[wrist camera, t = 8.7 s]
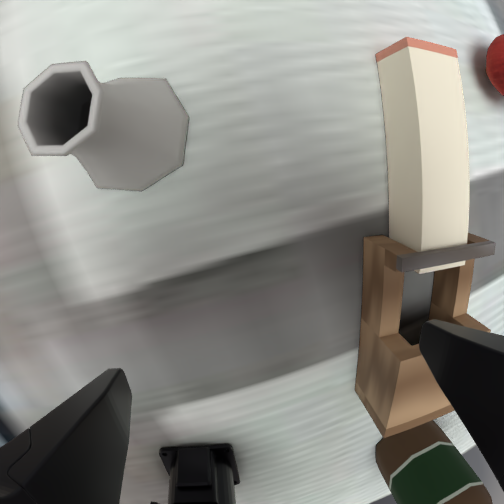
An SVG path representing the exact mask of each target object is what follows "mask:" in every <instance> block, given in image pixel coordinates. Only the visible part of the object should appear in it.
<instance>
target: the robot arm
mask: <svg viewBox="0 0 504 504" xmlns="http://www.w3.org/2000/svg"><path fill="white" fill-rule="evenodd" d="M419 349H420V352H421V354H422V356H423V358H424V359H425V361H426V363H427V365H428V367H429V369H430V371H431V372H432V374H433V376H434V378H435V380H436V382H437V384H438V385H439V387H440V389H441V390H442V392H443V393H444V395H445V396H446V398H447V399H448V401H449V402H450V404H451V405H452V407H453V408H454V410H455V411H456V413H457V414H458V416H459V417H460V419H461V421H462V422H463V424H464V425H465V427H466V428H467V430H468V432H469V433H470V435H471V436H472V438H473V440H474V441H475V443H476V445H477V446H478V448H479V450H480V451H481V453H482V454H483V456H484V458H485V459H486V461H487V463H488V464H489V466H490V468H491V470H492V471H493V473H494V475H495V477H496V479H497V480H498V482H499V484H500V486H501V487H502V489H503V491H504V336H502V335H498V334H494V333H489V332H485V331H481V330H477V329H473V328H469V327H465V326H460V325H456V324H452V323H448V322H444V321H440V320H436V319H433V320H430V321H426V322H424V323H423V325H422V330H421V336H420V342H419ZM131 404H132V393H131V390H130V387H129V384H128V381H127V379H126V376H125V373H124V371H123V370H122V369H121V368H114V369H108V370H106V371H105V372H104V373H102V374H101V375H99V376H98V377H97V378H95V379H94V380H93V381H91V382H90V383H89V384H87V385H86V386H85V387H83V388H82V389H81V390H79V391H78V392H77V393H75V394H74V395H73V396H71V397H70V398H69V399H67V400H66V401H64V402H63V403H62V404H60V405H59V406H58V407H56V408H55V409H54V410H52V411H51V412H50V413H48V414H47V415H46V416H44V417H43V418H41V419H40V420H39V421H37V422H36V423H35V424H33V425H32V426H31V427H30V429H29V428H28V429H26V430H25V431H24V432H22V433H21V434H20V435H18V436H17V437H15V438H14V439H13V440H11V441H10V442H8V443H7V444H5V445H4V446H2V447H0V504H119V501H120V494H121V487H122V480H123V474H124V468H125V462H126V456H127V450H128V444H129V434H130V417H131ZM159 455H160V457H161V459H162V461H163V463H164V466H165V468H166V470H167V472H168V474H169V476H170V480H169V495H168V504H236V499H235V490H234V485H237V484H239V483H240V479H239V475H238V470H237V466H236V462H235V457H234V453H233V448H232V446H231V445H229V444H223V445H212V446H198V447H180V448H161V449H160V451H159ZM151 504H158V503H157V502H151Z"/></svg>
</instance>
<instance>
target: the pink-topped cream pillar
mask: <svg viewBox="0 0 504 504" xmlns="http://www.w3.org/2000/svg"><path fill="white" fill-rule="evenodd" d="M457 58H458V56H457V51H456V49H453V48H449V47H446V46H442V45H438V44H435V43H431V42H427V41H422V40H418V39H414V38H409V37H405V38H403V39H402V40H400V41H398V42H396V43H394V44H393V45H391V46H389V47H387V48H385V49H384V50H382V51H380V52H378V53H377V54H376V61H377V65H378V72H379V79H380V86H381V94H382V103H383V112H384V122H385V133H386V147H387V163H388V188H389V238H390V239H392V240H395V241H397V242H399V243H401V244H403V245H405V246H407V247H409V248H411V249H413V250H415V251H417V252H422V251H428V250H435V249H441V248H447V247H454V246H460V245H466V244H467V237H468V221H469V150H468V134H467V123H466V113H465V104H464V96H463V89H462V82H461V76H460V70H459V65H458V59H457ZM462 265H465V261H460V262H455V263H450V264H445V265H440V266H434V267H429V268H424V269H418V270H414V271H415V272H417V273H419V274H422V273H427V272H432V271H438V270H443V269H448V268H453V267H457V266H462Z"/></svg>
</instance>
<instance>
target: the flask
mask: <svg viewBox="0 0 504 504" xmlns="http://www.w3.org/2000/svg"><path fill="white" fill-rule="evenodd" d="M188 121H189V116H188V115H187V113H186V111H185V110H184V108H183V106H182V105H181V103H180V101H179V100H178V98H177V96H176V95H175V93H174V91H173V90H172V88H171V86H170V85H169V83H168V81H167V80H166V79H159V78H117V79H114V80H112V81H109V82H106V83H100V82H99V81H98V80H97V78H96V76H95V74H94V73H93V71H92V69H91V67H90V65H89V63H88V62H86V61H79V62H67V63H58V64H52V65H50V66H49V67H48V68H47V69H45V70H44V71H43V72H42V73H41V74H39V75H38V76H37V77H36V78H35V79H34V80H33V81H31V82H30V83H29V84H28V85H27V86H26V87H25V88H24V89H23V94H22V100H21V105H20V112H19V118H18V128H19V130H20V132H21V134H22V136H23V139H24V141H25V143H26V145H27V147H28V149H29V151H30V153H31V155H32V156H67V155H69V154H72V155H74V156H75V157H76V158H77V159H78V160H79V162H80V163H81V164H82V166H83V167H84V168H85V170H86V171H87V172H88V174H89V176H90V177H91V179H92V181H93V182H94V184H95V186H96V187H97V188H101V189H117V190H131V191H143V190H145V189H146V188H148V187H149V186H151V185H152V184H154V183H155V182H157V181H158V180H160V179H162V178H163V177H165V176H166V175H168V174H169V173H171V172H173V171H174V170H176V169H177V168H179V167H181V166H182V165H183V159H184V151H185V143H186V135H187V128H188Z"/></svg>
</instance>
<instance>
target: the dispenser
mask: <svg viewBox="0 0 504 504" xmlns="http://www.w3.org/2000/svg"><path fill="white" fill-rule="evenodd" d="M494 253H495V242H492V241H489V240H487V239H484V238H481V237H478V236H476V235H473V234H470V233H468V237H467V244H466V245H460V246H454V247H447V248H441V249H435V250H428V251H422V252H417V251H415V250H413V249H411V248H409V247H407V246H405V245H403V244H401V243H399V242H397V241H395V240H392V239H390V238H388V237H386V236H384V235H378V236H369V237H364V246H363V292H362V313H361V329H360V342H359V354H358V365H357V375H356V384H355V391H356V393H357V395H358V396H359V398H360V400H361V401H362V403H363V404H364V406H365V408H366V409H367V411H368V413H369V414H370V416H371V418H372V419H373V421H374V423H375V424H376V426H377V428H378V429H379V431H380V433H381V435H382V436H383V438H386V437H389V436H392V435H395V434H397V433H400V432H403V431H406V430H408V429H411V428H414V427H416V426H419V425H421V424H424V423H426V422H429V421H431V420H434V419H436V418H438V417H441V416H443V415H445V414H447V413H450V412H452V411H454V408H453V407H452V405H451V404H450V402H449V401H448V399H447V398H446V396H445V395H444V393H443V392H442V390H441V389H440V387H439V385H438V384H437V382H436V380H435V378H434V376H433V374H432V372H431V371H430V369H429V367H428V365H427V363H426V361H425V359H424V358H423V356H422V354H421V352H420V349H419V344H416V345H413V346H411V345H410V344H409V343H408V342H407V341H406V340H405V339H404V338H403V337H402V336H401V335H400V334H399V333H398V331H399V323H400V315H401V305H402V295H403V283H404V272H407V271H413V270H418V269H424V268H429V267H434V266H440V265H445V264H450V263H455V262H460V261H465V265H462V266H457V267H453V268H448V269H443V270H438V271H435V273H434V283H433V292H432V300H431V307H430V314H429V321H430V320H433V319H436V320H440V321H444V322H448V323H452V324H456V325H460V326H465V327H469V328H473V329H477V330H481V331H485V332H489V333H490V331H491V330H490V329H488V328H487V327H486V326H484V325H483V324H481V323H480V322H478V321H477V320H475V319H474V318H473V317H471V316H470V315H468V314H467V307H468V301H469V296H470V289H471V283H472V275H473V268H474V259H475V258H480V257H485V256H490V255H494Z"/></svg>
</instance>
